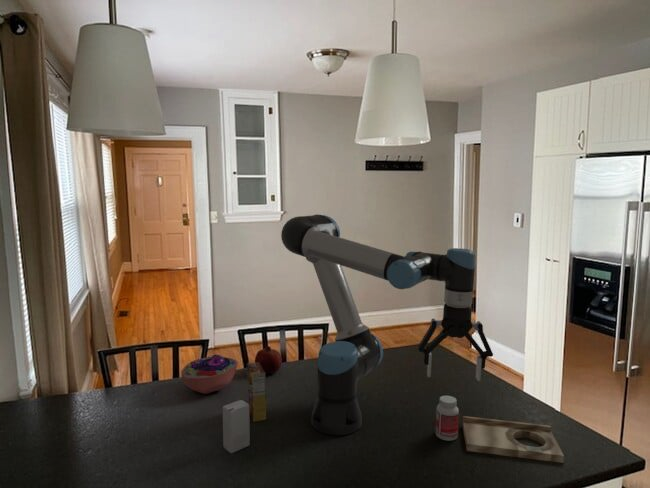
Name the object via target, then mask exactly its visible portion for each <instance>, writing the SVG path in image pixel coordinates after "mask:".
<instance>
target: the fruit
mask: <svg viewBox="0 0 650 488" xmlns="http://www.w3.org/2000/svg"><path fill="white" fill-rule="evenodd" d="M254 362H259V363H260V365H261V366H262V368H263V370H264V372H265V374H272V375H273V374H275V373H276V372H278V371H279V370H281V367H282V364H283V358H282V355H281V353H280V352H279V351H278V350H276V349H275V348H272V347H271V346H270V345H269V346H268V345H266V347H265V348H262V349H260V350H259V351H257V352H256V354H255V359H254Z"/></svg>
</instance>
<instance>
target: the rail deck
mask: <svg viewBox="0 0 650 488" xmlns="http://www.w3.org/2000/svg"><path fill="white" fill-rule="evenodd" d="M462 430H463V437H464V442H465V447H466V451H467V452H473V453H481V454H490V455H491V454H492V455H496V456H497V455H498V456H504V457H505V456H506V457H513V458H514V457H516V458H522V459H529V460H530V459H531V460H537V461H546V462H553V463H561V464H563V463H564V461H565V460H564V459H565V455H564V453H563V452H562V450H561V447H560V446H559V443H558V442H557V440H556V438H555V436H554V434H553V432H552V426H551V425H547V424H540V423H539V424H537V423H530V422H521V421H520V422H519V421H513V420H512V421H511V420H502V419H494V418H484V417H477V416H476V417H475V416H466V415H463V416H462ZM519 438H520V439H521V438H524V439H530V440H533V441H536V442H538V443H539V444H541V446H531V445H525V444H523V443H520V441H518V440H517V439H519Z"/></svg>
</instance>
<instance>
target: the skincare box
mask: <svg viewBox="0 0 650 488" xmlns="http://www.w3.org/2000/svg"><path fill="white" fill-rule="evenodd" d="M250 428H251V427H250V410H249V404H248V402H246V401H244V400H242V399H240V400H236V401H234V402H231V403H228V404H226V405H223V406H222V432H223V433H222V437H223V438H222V439H223V440H222V443H223V448H224V449H225V450H226V451H227V452H229V453H230V454H234V453H236V452H238V451H240V450H242V449H245V448H246V447H249V446H250V445H251V441H250V440H251V439H250V438H251V436H250V435H251V434H250V433H251V432H250Z"/></svg>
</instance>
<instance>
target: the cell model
mask: <svg viewBox="0 0 650 488" xmlns="http://www.w3.org/2000/svg"><path fill="white" fill-rule="evenodd" d="M238 364H239V362H238V361H237V360H236V359H233V358H229V357H226V356H222V355H221V354H213V355H212V356H207V357H203V358H198V359H194V360H192V361H190V362H189V363H187V364H186V365H185V366H184V367H183V368H182V370H181V371H180V373H181V380H182V383H184V385H185V386H187V387H188V388H189V389H191V390H192V391H194V392H197V393H201V394H203V395H204V394H205V395H206V394H211V393H213V392H217V391H222V390H224V389H225V388H227V387H228V385H230V383H231V382H232V380H233V379H234V377H235V375H236V371H237V367H238Z"/></svg>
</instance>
